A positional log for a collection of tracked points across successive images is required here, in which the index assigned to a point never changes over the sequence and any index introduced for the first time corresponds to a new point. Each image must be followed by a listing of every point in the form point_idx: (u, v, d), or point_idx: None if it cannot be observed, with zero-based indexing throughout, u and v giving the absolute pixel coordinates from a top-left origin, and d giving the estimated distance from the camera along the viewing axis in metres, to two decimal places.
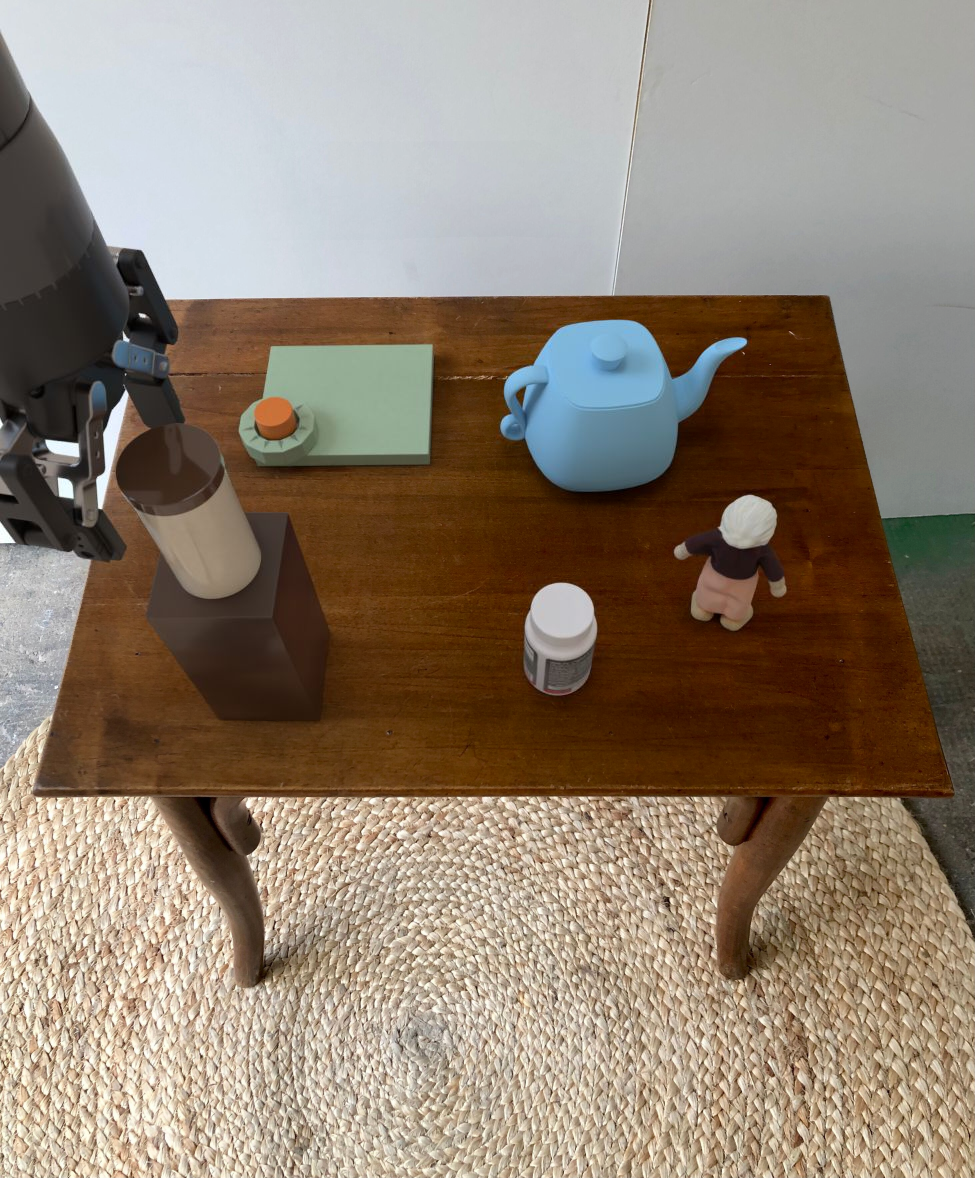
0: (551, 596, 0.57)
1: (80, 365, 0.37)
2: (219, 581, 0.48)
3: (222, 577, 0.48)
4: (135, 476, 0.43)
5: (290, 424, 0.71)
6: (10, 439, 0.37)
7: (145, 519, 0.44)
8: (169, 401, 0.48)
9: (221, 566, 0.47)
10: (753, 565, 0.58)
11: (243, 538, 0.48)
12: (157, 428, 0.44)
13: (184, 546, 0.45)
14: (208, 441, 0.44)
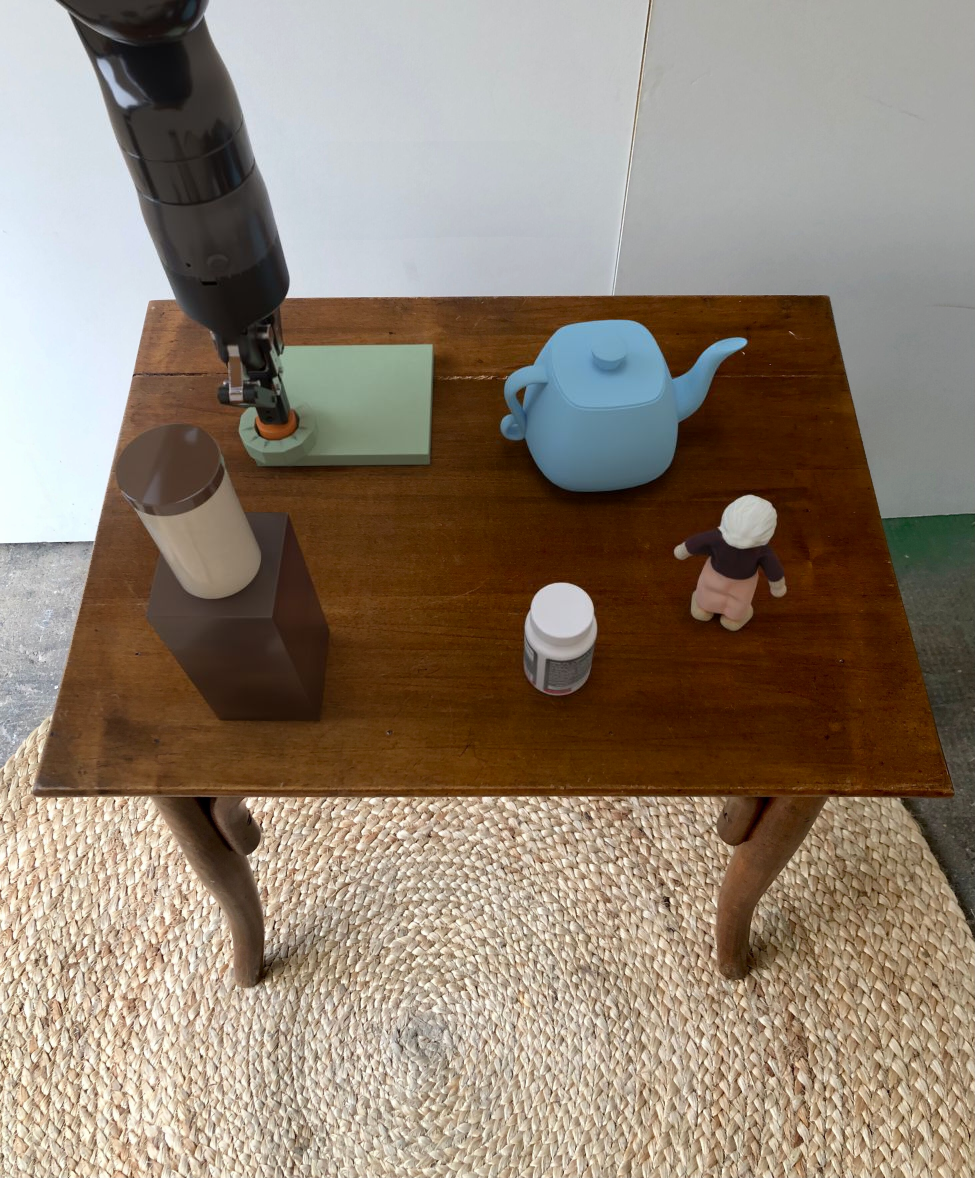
0: (551, 596, 0.57)
1: (272, 309, 0.58)
2: (219, 581, 0.48)
3: (222, 577, 0.48)
4: (135, 476, 0.43)
5: (292, 431, 0.71)
6: (239, 378, 0.60)
7: (145, 519, 0.44)
8: (283, 394, 0.69)
9: (221, 566, 0.47)
10: (753, 565, 0.58)
11: (243, 538, 0.48)
12: (157, 428, 0.44)
13: (184, 546, 0.45)
14: (208, 441, 0.44)
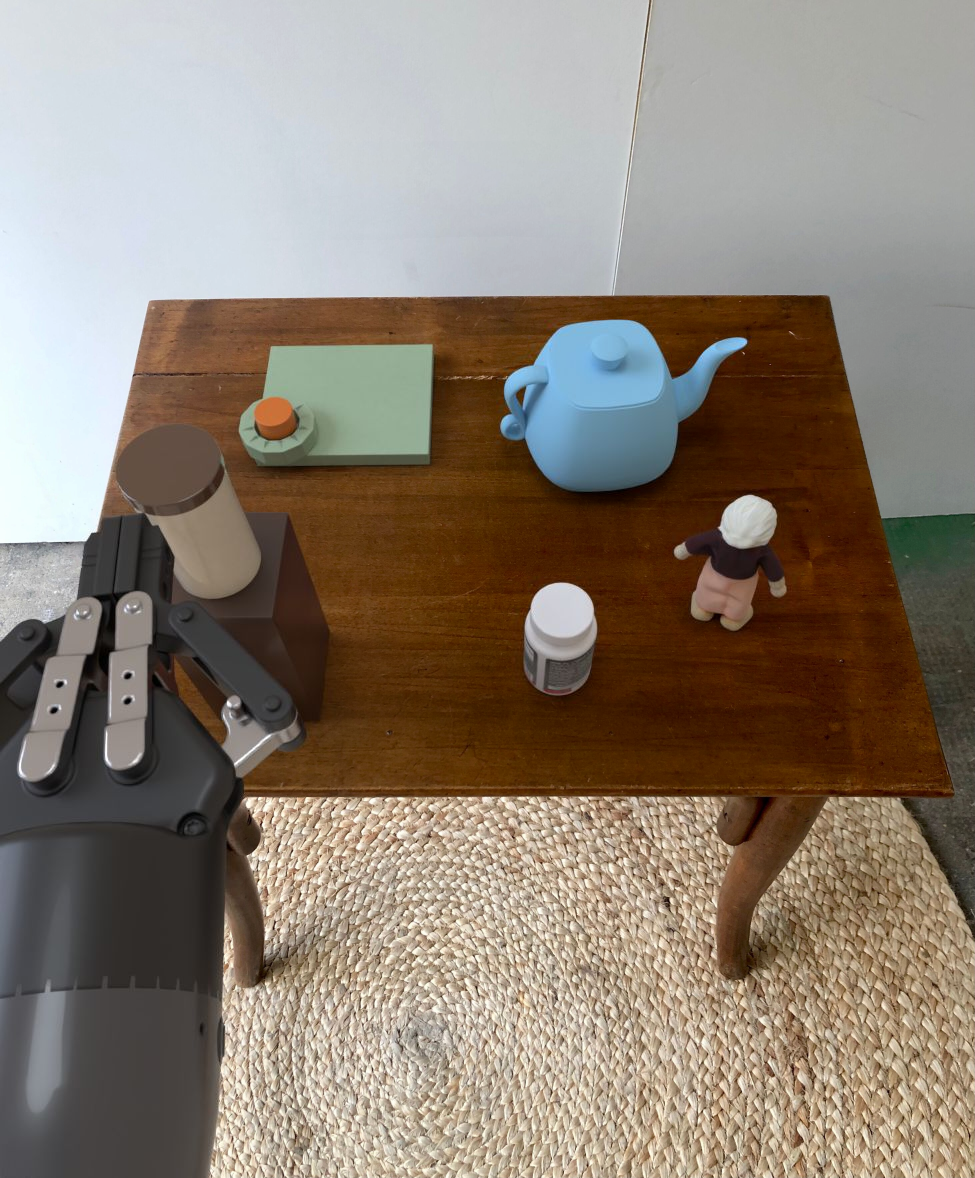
0: (551, 596, 0.57)
1: None
2: (219, 581, 0.48)
3: (222, 577, 0.48)
4: (135, 476, 0.43)
5: (290, 424, 0.71)
6: None
7: None
8: None
9: (221, 566, 0.47)
10: (753, 565, 0.58)
11: (243, 538, 0.48)
12: (157, 428, 0.44)
13: (184, 546, 0.45)
14: (208, 441, 0.44)
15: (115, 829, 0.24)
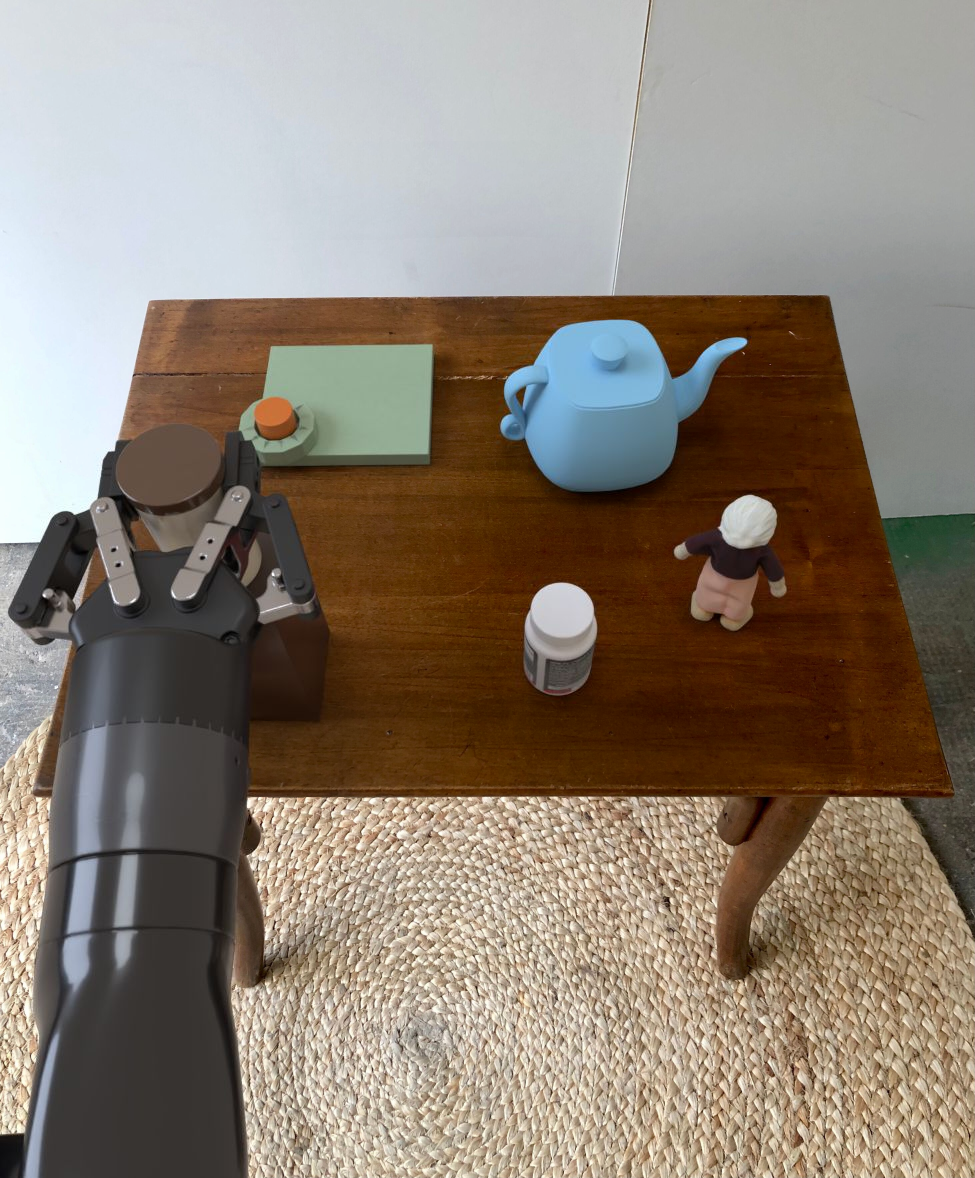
0: (551, 596, 0.57)
1: None
2: None
3: None
4: (136, 476, 0.43)
5: (290, 424, 0.71)
6: (53, 636, 0.41)
7: (146, 519, 0.44)
8: None
9: None
10: (753, 565, 0.58)
11: None
12: (158, 428, 0.44)
13: (184, 546, 0.45)
14: (208, 441, 0.44)
15: (181, 632, 0.37)
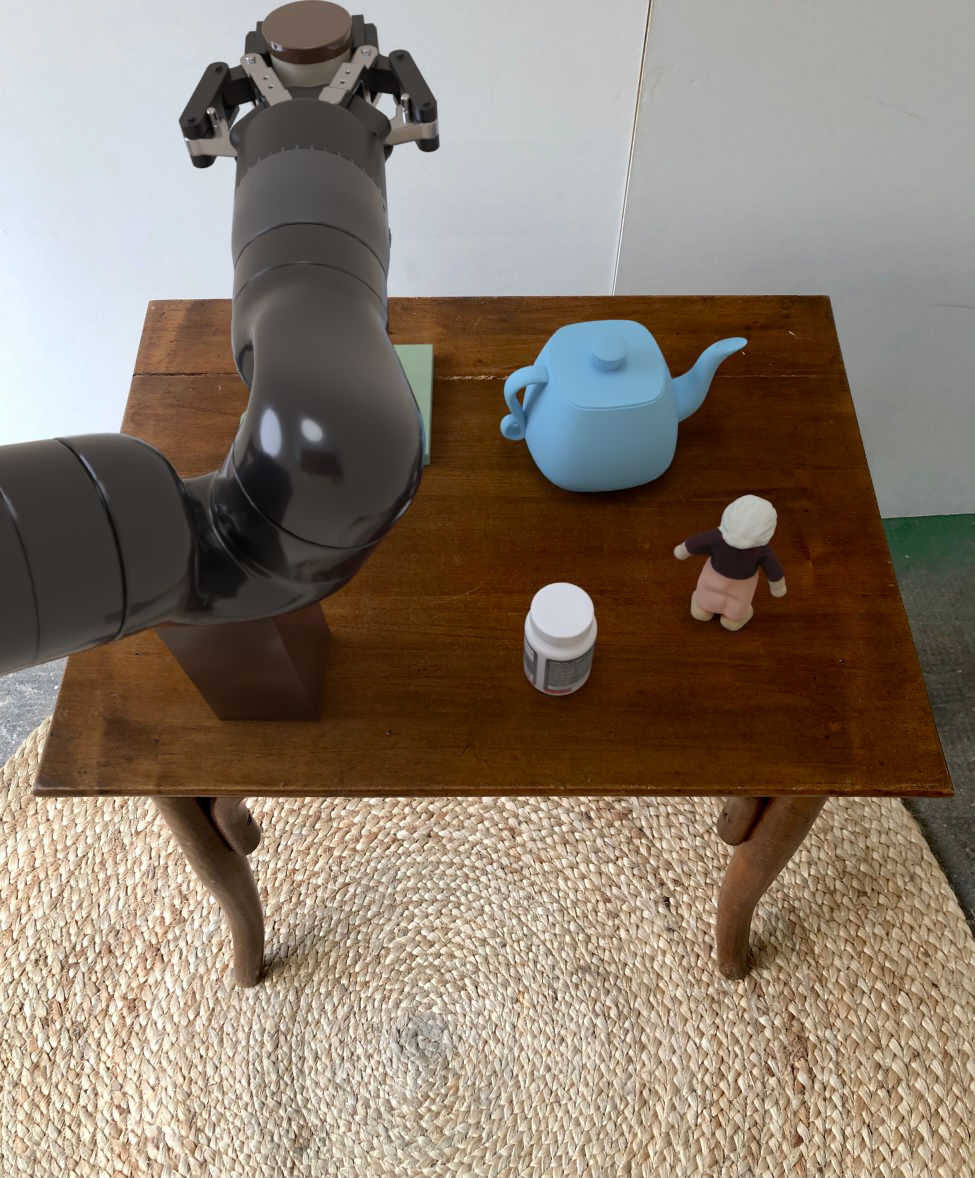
0: (551, 596, 0.57)
1: None
2: None
3: None
4: (280, 31, 0.50)
5: None
6: (214, 152, 0.48)
7: (286, 76, 0.51)
8: None
9: None
10: (753, 565, 0.58)
11: None
12: (295, 2, 0.51)
13: None
14: (340, 9, 0.51)
15: (336, 105, 0.44)
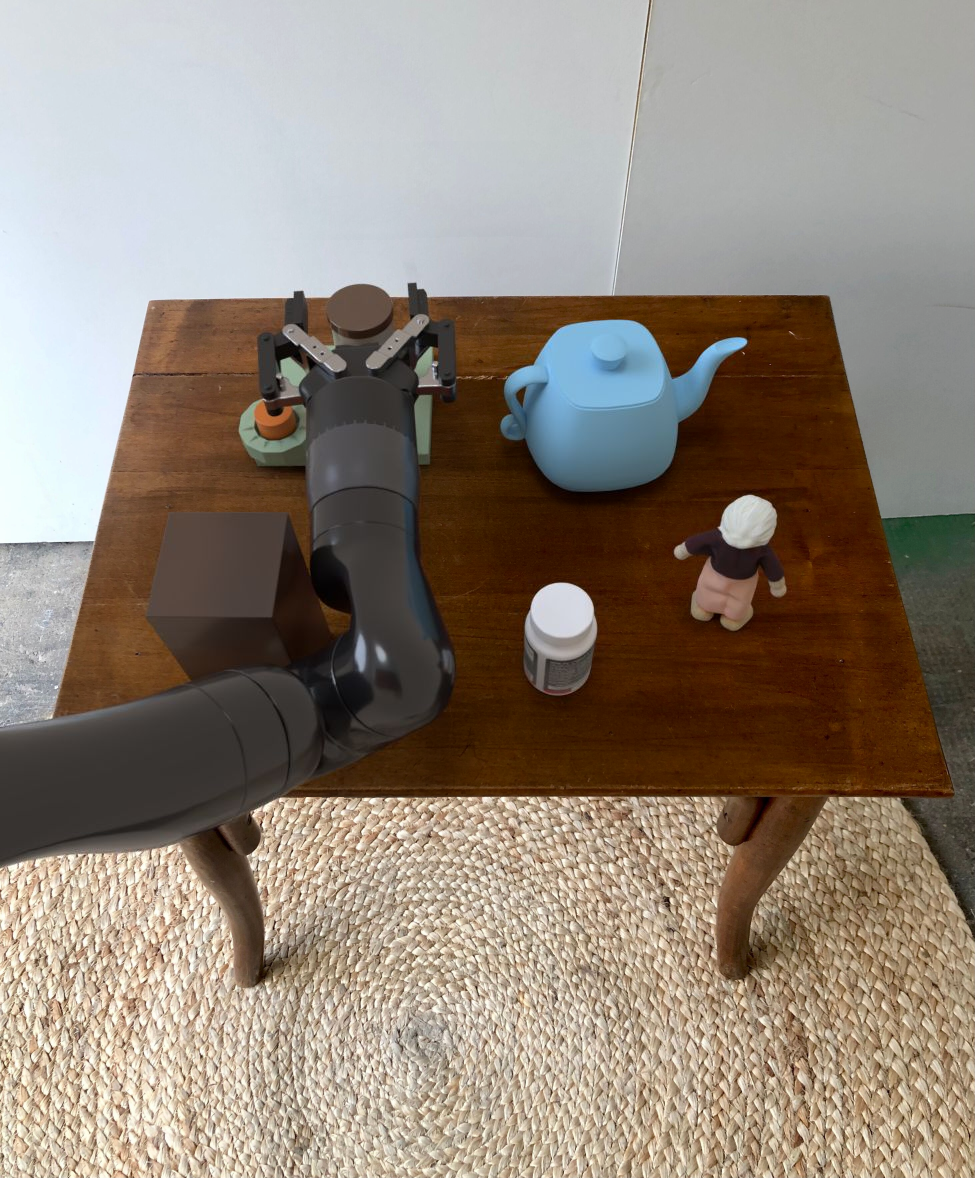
0: (551, 596, 0.57)
1: None
2: None
3: None
4: (339, 314, 0.67)
5: (290, 424, 0.71)
6: (287, 404, 0.64)
7: (343, 343, 0.68)
8: None
9: None
10: (753, 565, 0.58)
11: None
12: (349, 286, 0.69)
13: None
14: (383, 294, 0.68)
15: (380, 379, 0.60)
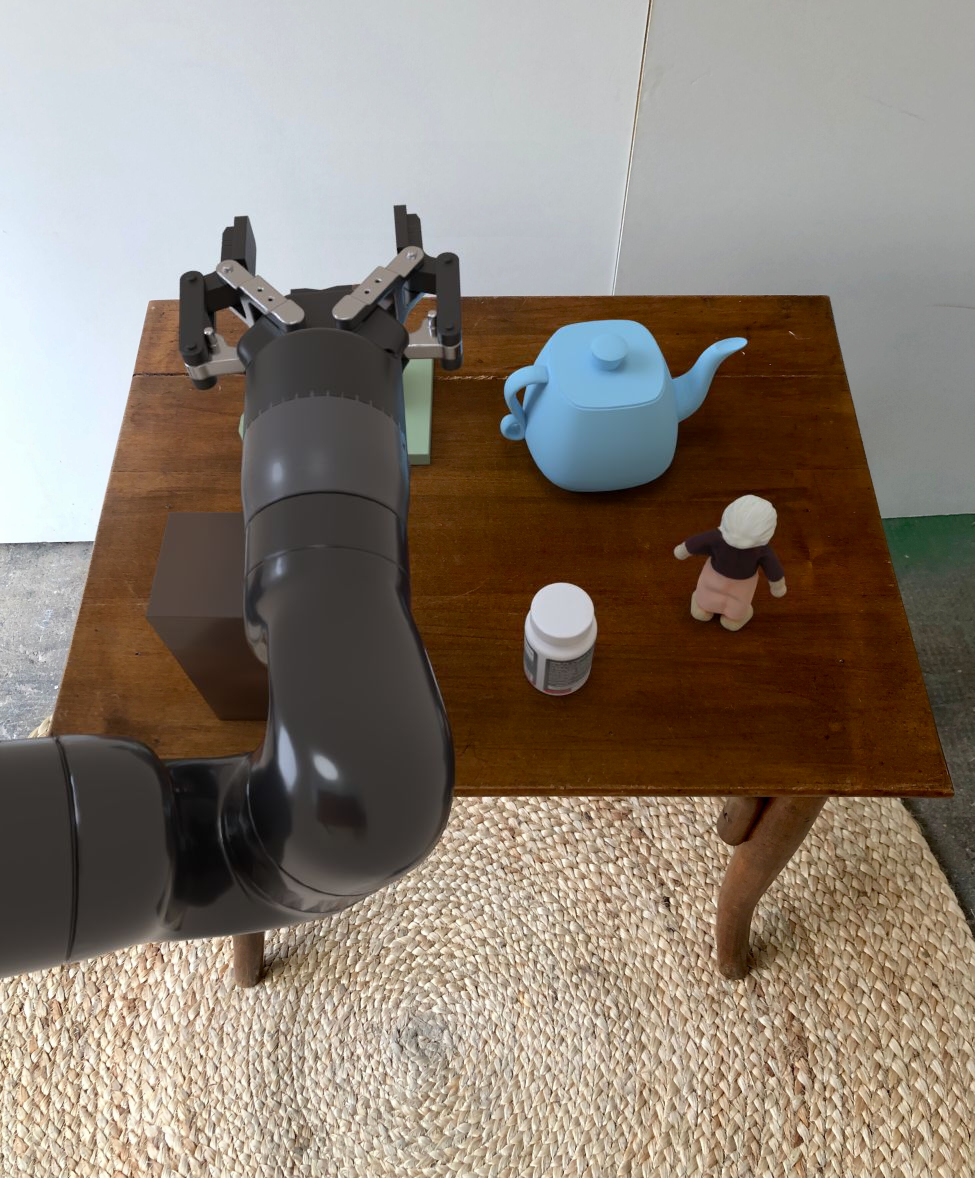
0: (551, 596, 0.57)
1: None
2: None
3: None
4: None
5: None
6: (221, 372, 0.45)
7: None
8: None
9: None
10: (753, 565, 0.58)
11: None
12: None
13: None
14: None
15: (352, 333, 0.41)
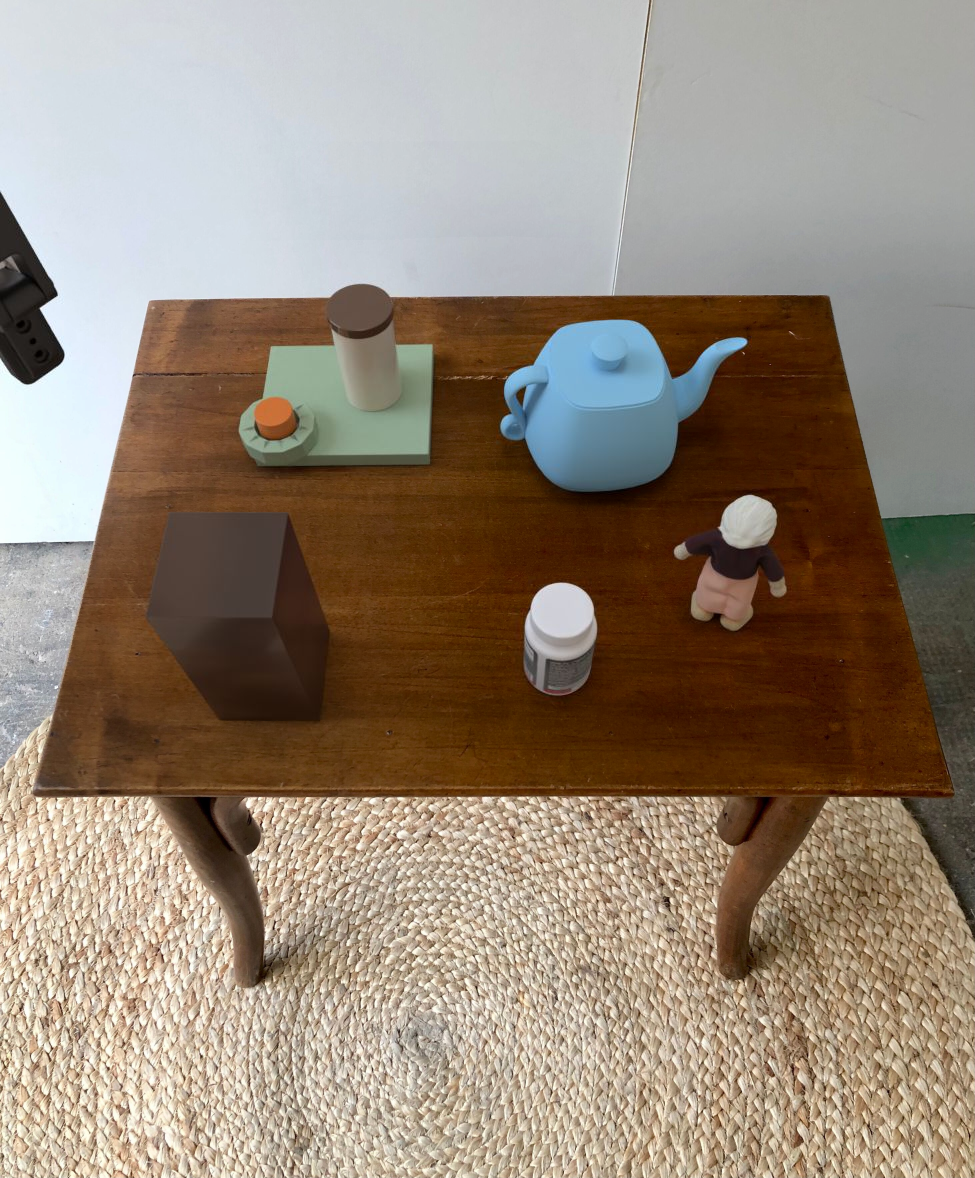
0: (551, 596, 0.57)
1: None
2: (379, 396, 0.73)
3: (381, 393, 0.73)
4: (339, 314, 0.67)
5: (290, 424, 0.71)
6: None
7: (343, 343, 0.68)
8: None
9: (383, 383, 0.72)
10: (753, 565, 0.58)
11: (397, 366, 0.72)
12: (349, 286, 0.69)
13: (364, 364, 0.69)
14: (383, 294, 0.68)
15: None
